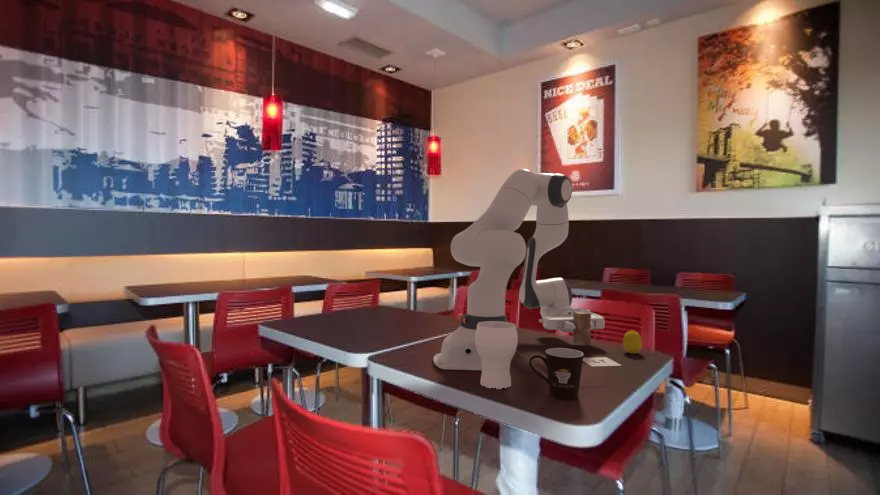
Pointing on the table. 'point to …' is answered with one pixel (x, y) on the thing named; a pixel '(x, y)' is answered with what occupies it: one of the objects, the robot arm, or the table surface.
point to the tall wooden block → (582, 328)
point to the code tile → (600, 361)
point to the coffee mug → (562, 372)
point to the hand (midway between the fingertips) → (583, 327)
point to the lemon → (632, 342)
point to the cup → (496, 352)
